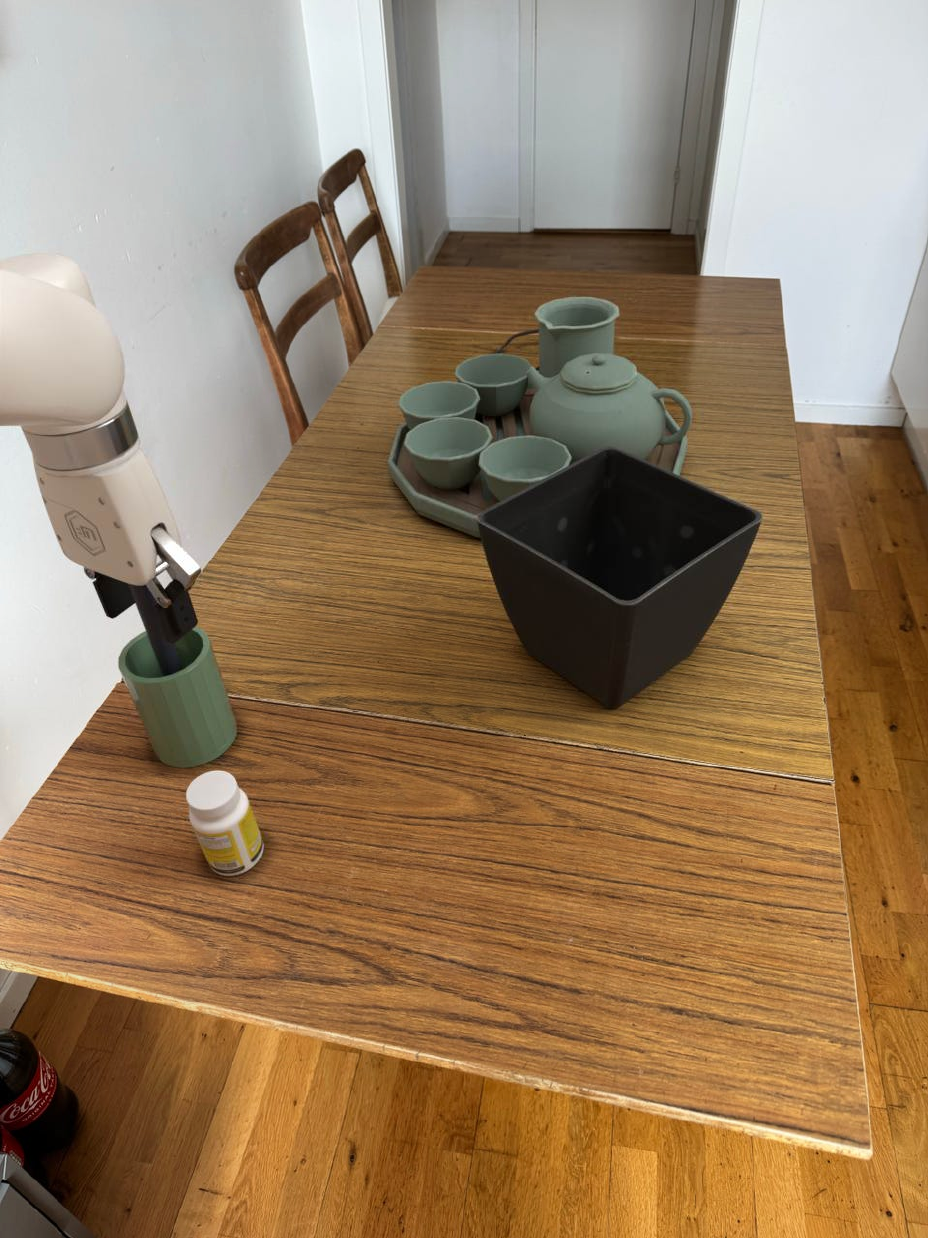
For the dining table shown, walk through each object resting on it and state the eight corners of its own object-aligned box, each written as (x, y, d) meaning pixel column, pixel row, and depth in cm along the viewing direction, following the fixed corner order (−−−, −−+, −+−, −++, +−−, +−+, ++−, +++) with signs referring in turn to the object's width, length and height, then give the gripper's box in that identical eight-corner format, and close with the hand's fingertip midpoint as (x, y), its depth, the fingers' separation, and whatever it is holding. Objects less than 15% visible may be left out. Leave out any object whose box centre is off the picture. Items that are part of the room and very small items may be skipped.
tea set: (393, 411, 138) (380, 305, 127) (652, 390, 137) (660, 282, 127) (387, 560, 107) (368, 436, 96) (720, 534, 106) (737, 407, 96)
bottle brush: (209, 744, 84) (151, 584, 72) (168, 746, 84) (103, 586, 72) (219, 714, 87) (165, 555, 75) (179, 715, 88) (119, 558, 76)
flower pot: (744, 651, 90) (769, 510, 80) (620, 749, 81) (629, 605, 71) (603, 574, 102) (608, 442, 91) (481, 652, 93) (470, 516, 82)
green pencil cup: (227, 766, 83) (196, 680, 76) (143, 769, 83) (105, 684, 76) (245, 705, 89) (218, 621, 82) (167, 708, 90) (134, 624, 83)
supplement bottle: (247, 821, 78) (224, 756, 72) (274, 855, 75) (253, 789, 70) (197, 852, 76) (170, 788, 70) (223, 888, 73) (197, 823, 67)
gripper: (-33, 434, 67) (52, 617, 79) (125, 484, 60) (194, 679, 71) (48, 393, 72) (117, 572, 83) (203, 435, 64) (256, 625, 76)
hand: (152, 619), depth 77 cm, fingers open, 6 cm apart
